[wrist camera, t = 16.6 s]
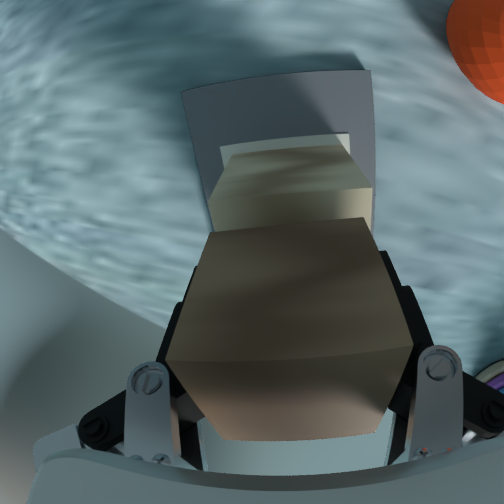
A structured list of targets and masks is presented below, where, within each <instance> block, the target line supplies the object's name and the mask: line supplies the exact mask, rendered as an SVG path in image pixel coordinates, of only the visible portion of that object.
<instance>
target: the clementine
mask: <svg viewBox="0 0 504 504" xmlns="http://www.w3.org/2000/svg"><path fill="white" fill-rule="evenodd" d="M446 34H447V39H448V43H449V47H450V50H451V52H452V55H453V57H454V60H455V61H456V63H457V65H458V66H459V68H460V70H461V71H462V72H463V73H464V75H465V76H466V77H467V78H468V79H469V80H470V82H471V83H472V84H473V85H474V86H475V87H476V88H477V89H478V90H480V91H481V92H482V93H484V94H485V95H486V96H488V97H490V98H491V99H493V100H495V101H497V102H500V103H502V104H504V0H455V1H454V2H453V3H452V5H451V7H450V9H449V12H448V16H447V20H446Z"/></svg>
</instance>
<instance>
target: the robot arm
mask: <svg viewBox="0 0 504 504" xmlns="http://www.w3.org/2000/svg"><path fill="white" fill-rule="evenodd" d="M379 253H380V255H381V257H382V260H383V262H384V265H385V267H386V269H387V272H388V274H389V277H390V280H391V282H392V285H393V287H394V290H395V292H396V295H397V298H398V301H399V303H400V306H401V309H402V312H403V314H404V317H405V320H406V323H407V326H408V329H409V332H410V335H411V338H412V341H413V348H412V351H411V353H410V356H409V359H408V361H407V364H406V366H405V369H404V371H403V374H402V376H401V378H400V381H399V383H398V385H397V388H396V390H395V392H394V394H393V397H392V399H391V401H390V403H389V405H388V409H390V410H392V411H393V419H392V426H391V431H390V437H389V442H388V447H387V452H386V458H385V462H384V466H383V467H378V468H372V469H366V470H359V471H351V472H341V473H331V474H318V475H297V476H259V475H240V474H226V473H215V472H208V467H207V461H206V455H205V447H204V441H203V433H202V427H201V419H202V418H203V417H205V415H204V414H203V413H202V411H201V410H200V409H199V407H198V406H197V405H196V403H195V402H194V401H193V399H192V398H191V397H190V395H189V394H188V393H187V391H186V390H185V388H184V387H183V386H182V384H181V383H180V381H179V380H178V378H177V377H176V376H175V374H174V373H173V371H172V370H171V368H170V367H169V365H168V364H167V362H166V361H165V358H166V355H167V352H168V349H169V346H170V343H171V340H172V337H173V334H174V331H175V328H176V325H177V322H178V319H179V316H180V314H181V311H182V308H183V305H184V302H185V299H186V296H187V293H188V291H189V288H190V285H191V282H192V280H193V277H194V274H195V271H196V269H197V266H195V268H194V271H193V274H192V276H191V279H190V282H189V284H188V287H187V290H186V293H185V295H184V298H183V301H182V302H178V303H177V304H176V306H175V308H174V311H173V313H172V316H171V319H170V322H169V324H168V327H167V330H166V333H165V336H164V338H163V341H162V344H161V347H160V350H159V352H158V356H157V358H156V361H155V362H154V361H152V362H151V361H150V362H145V363H142V364H140V365H138V366H137V367H135V368H134V369H133V370H132V371H131V373H130V375H129V376H128V380H127V385H126V390H124V391H122V392H121V393H119V394H118V395H116V396H114V397H113V398H111V399H109V400H108V401H106V402H105V403H103V404H101V405H100V406H98V407H96V408H95V409H93V410H91V411H90V412H88V413H87V414H86V415H84V416H83V418H82V419H81V421H80V423H79V425H78V426H77V425H76V424H73V425H70V426H68V427H66V428H63V429H61V430H59V431H57V432H54V433H52V434H50V435H47V436H45V437H42V438H41V439H39V440H38V441H37V442H36V443H35V445H34V448H33V457H34V463H35V467H36V472H37V474H36V476H35V478H34V481H33V484H32V487H31V489H30V493H29V496H28V499H27V503H26V504H504V394H503V393H501V392H500V391H498V390H496V389H494V388H492V387H491V386H489V385H487V384H485V383H483V382H482V381H480V380H478V379H476V378H474V377H473V376H471V375H469V374H467V373H465V372H464V371H462V364H461V359H460V358H459V356H458V354H457V353H456V352H455V351H454V350H453V349H451V348H449V347H447V346H442V345H434V344H433V341H432V338H431V335H430V333H429V330H428V327H427V325H426V322H425V320H424V317H423V315H422V312H421V310H420V307H419V305H418V302H417V300H416V298H415V295H414V293H413V291H412V289H411V287H410V286H409V285H407V286H402V285H401V283H400V281H399V278H398V276H397V274H396V271H395V269H394V267H393V264H392V262H391V260H390V258H389V255H388V253H387V251H385V250H384V251H379Z"/></svg>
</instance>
